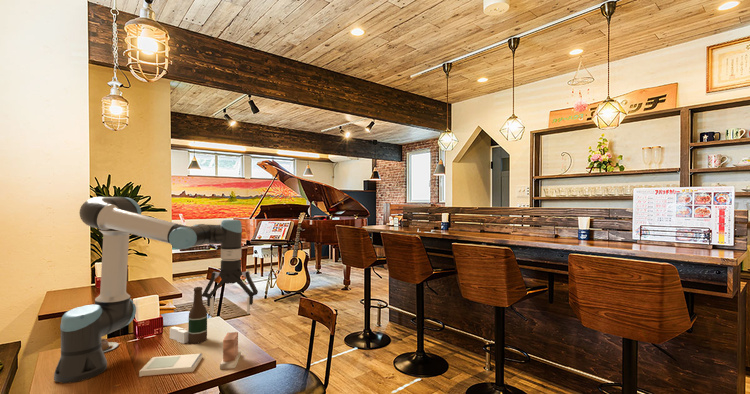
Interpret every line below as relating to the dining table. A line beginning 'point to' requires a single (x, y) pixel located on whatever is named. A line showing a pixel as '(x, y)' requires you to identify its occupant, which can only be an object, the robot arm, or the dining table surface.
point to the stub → (230, 351)
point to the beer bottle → (197, 319)
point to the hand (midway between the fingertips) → (230, 313)
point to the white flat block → (171, 364)
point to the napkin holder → (179, 334)
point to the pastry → (107, 345)
